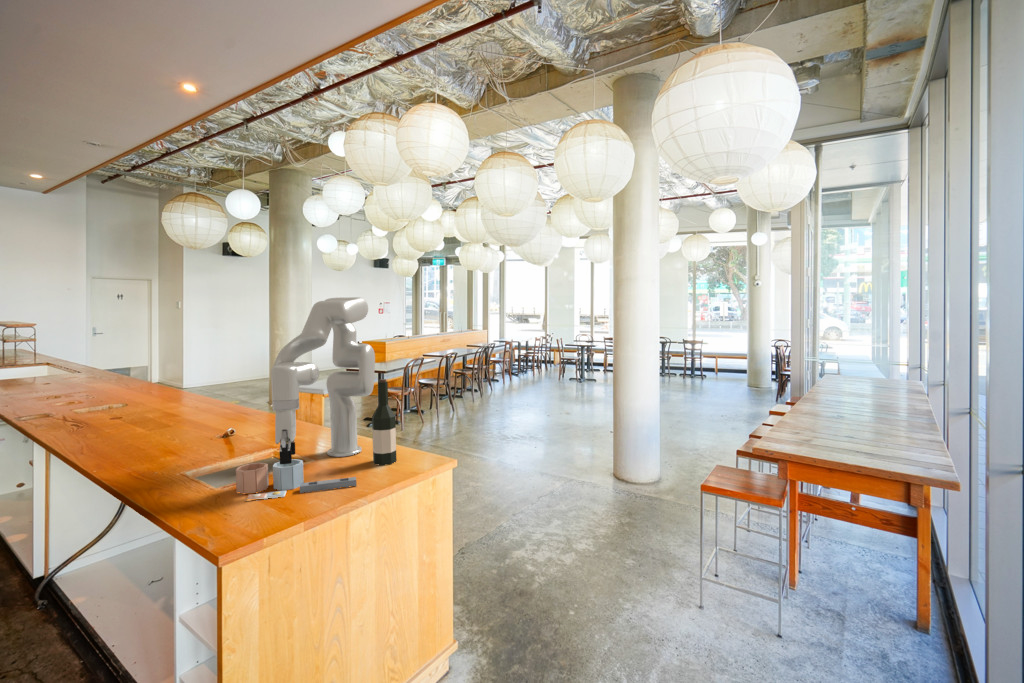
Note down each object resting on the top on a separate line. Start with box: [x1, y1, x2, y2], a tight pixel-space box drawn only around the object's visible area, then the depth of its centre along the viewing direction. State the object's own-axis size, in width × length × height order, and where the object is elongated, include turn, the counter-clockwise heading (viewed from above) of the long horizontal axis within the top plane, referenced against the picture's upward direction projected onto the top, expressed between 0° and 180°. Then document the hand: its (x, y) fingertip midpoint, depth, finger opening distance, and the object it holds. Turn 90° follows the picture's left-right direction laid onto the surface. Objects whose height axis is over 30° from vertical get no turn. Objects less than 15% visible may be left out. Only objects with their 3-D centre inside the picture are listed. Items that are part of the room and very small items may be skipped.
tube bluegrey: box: [272, 458, 305, 491], centre depth 146 cm, size 8×8×7 cm
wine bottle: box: [371, 378, 397, 466], centre depth 168 cm, size 8×8×30 cm
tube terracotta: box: [235, 462, 270, 494], centre depth 142 cm, size 8×8×7 cm
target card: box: [246, 490, 287, 500], centre depth 137 cm, size 4×10×1 cm, turn 109°
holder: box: [299, 476, 357, 494], centre depth 143 cm, size 3×16×2 cm, turn 109°
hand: (287, 459), depth 145 cm, fingers open, 9 cm apart
